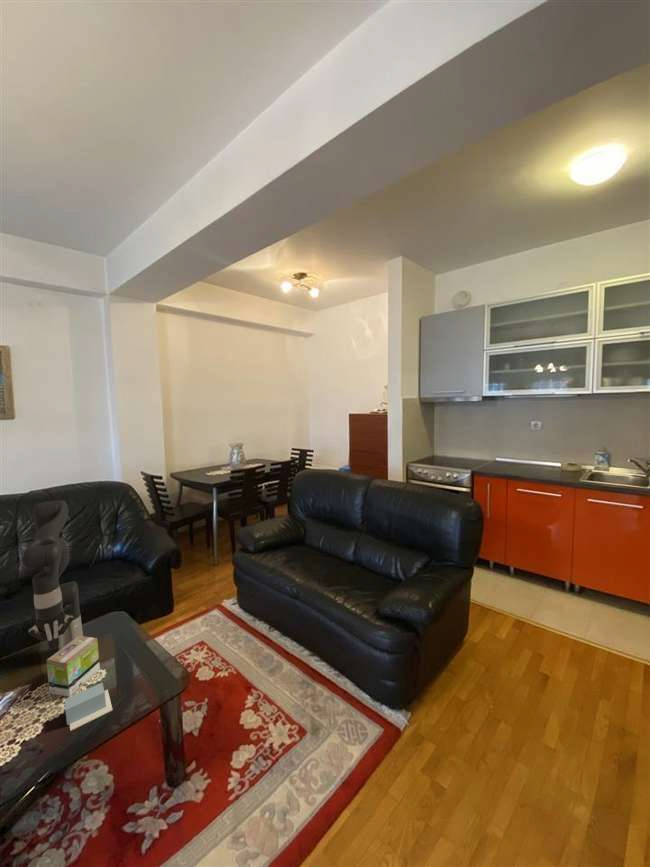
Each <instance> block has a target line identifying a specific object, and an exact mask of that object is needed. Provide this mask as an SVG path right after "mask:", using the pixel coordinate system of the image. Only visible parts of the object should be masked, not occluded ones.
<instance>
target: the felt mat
mask: <svg viewBox="0 0 650 867" xmlns="http://www.w3.org/2000/svg"><path fill="white" fill-rule="evenodd" d="M104 692H105V700H106V707H105V708H103V709H101V710H99V711H96V712H94V713H92V714H90V715H88V716H86V717H84V718H82V719H80V720H78V721H76V722H74V723H71V724H69V731H70V732H71V731H73V730H76V729H77V728H79V727H82V726H83V725H85V724H88V723H90V722H92V721H93V720H96V719H99V718H100V717H103V715H106V714H108V713H111V712H112V711H113V706H112V703H111V701H112V700H111V698H110V697H111V696H110V694H109V690H108V689H106V690H105V689H104Z"/></svg>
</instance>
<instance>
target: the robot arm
mask: <svg viewBox="0 0 650 867" xmlns="http://www.w3.org/2000/svg"><path fill="white" fill-rule="evenodd" d="M68 517H69V507H68V504H67V502H66V501H65V500H52V501H45V502H38V503H36V504H35V505H34V507H33V519H34V522H35V527H36V531H37V532H36V534H35V537H34V540H33V542H32V543H30V545H28V547H27V548H25V550H24V552H23V555H22V556H21V564H22V566H23V567H24V568H25V569H27V570H35V569H40V568H43V569H44V570H42V571H39V572H38V573H37V574H35V575H34V576H33V577H32V588H33V606H34V609H35V610H34V611H35V618H36V620H35V623H34V625H33V626H32V627H30V628H28V635H29V636H31V637H33V638H34V639H37V640H39V641H40V642H45V641H47V642H48V648H49V649H51V650H55V649H57V648H58V651H59V650H60V649H62V648H63V647H64V646H66V645H67V644H68V643H70V642H71V641H72V640H74V639H75V638H76V637H77V636H84V633H83V624H82V616H81V608H80V601H79V586H78V583H77V581H69V582H65V583H62V584H60V580H59V579H60V577H61V575H62V574H63V572H64V571H65V570H66V568H67V566H68V565H69V562H70V559H71V557H70V550H69V545H68V544H67V543H66V542H65V541H64V540H63V539H62V538H60V533H61V531H62V529H63V528H64V527H65V524H66V522H67V520H68ZM64 606H66V607H64ZM39 630H41V631H43V632H45V634H44V633H43V632H41V631H39ZM52 630H53V634H52Z"/></svg>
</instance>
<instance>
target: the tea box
mask: <svg viewBox="0 0 650 867" xmlns="http://www.w3.org/2000/svg"><path fill="white" fill-rule="evenodd" d="M98 643H99V642H98V638H97V637H90V636H84V635H83V636H77V637H76V638H75V639H74V640H72V641H71V642H70V643H68V644H67V645H66V646H64V647H63V648H62V649H60V650H59V649H58V651H57V652H54V654H53V655H51V656H50V657H48V658H47V659H46V670H47V680H48V682H47V683H48V690H49V694H51V695H57V696H62V697H67V698H68V697H71V696H73V694H74V693H75V692H76V691H78V689H80V688H81V687H83V685H84V684H85V683H86V682H87V681H89V680H90V679H91V678H92V677H93V676H94V675H95V674H97V672H98V671H100V669H101V666H100V657H99V656H100V655H99V644H98Z"/></svg>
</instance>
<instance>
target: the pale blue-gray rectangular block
mask: <svg viewBox="0 0 650 867" xmlns="http://www.w3.org/2000/svg"><path fill="white" fill-rule="evenodd" d="M104 691H105V688H104V683H103V682H101V683H98V684H96V685H93V686H91V687H89V688H87V689H85V690H82V691H80V692H78V693H75V694H74V695H73V694H72V695H71V696H70V697H67V698H64V708H65V709H64V710H65V717H66V719H65V720H66V726H70V724H71V723H74V722H76V721H78V720H80V719H82V718H84V717H86V716H88V715H90V714H92V713H94V712H96V711H99V710H101V709H103V708H105V707H106V700H105V692H104Z"/></svg>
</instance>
